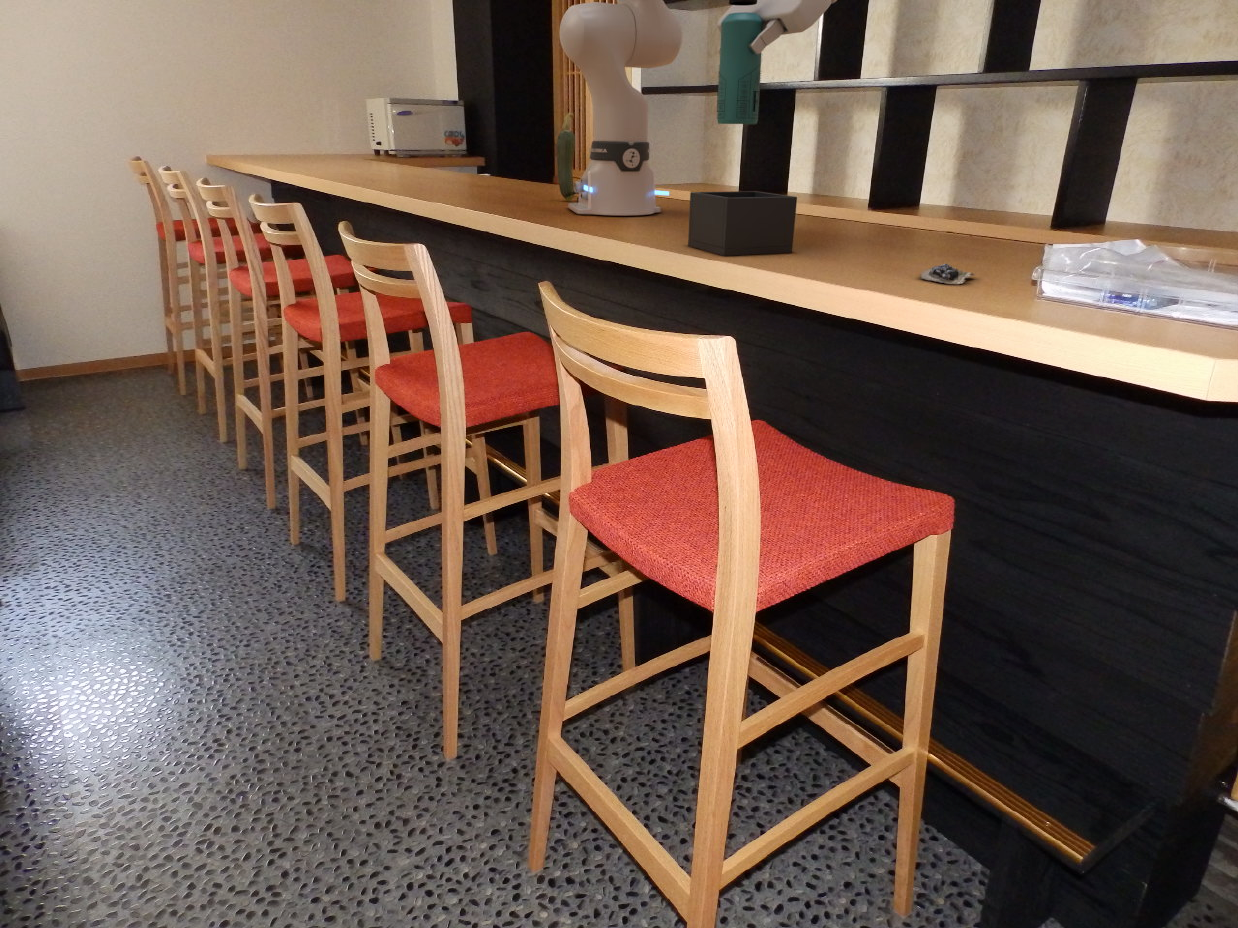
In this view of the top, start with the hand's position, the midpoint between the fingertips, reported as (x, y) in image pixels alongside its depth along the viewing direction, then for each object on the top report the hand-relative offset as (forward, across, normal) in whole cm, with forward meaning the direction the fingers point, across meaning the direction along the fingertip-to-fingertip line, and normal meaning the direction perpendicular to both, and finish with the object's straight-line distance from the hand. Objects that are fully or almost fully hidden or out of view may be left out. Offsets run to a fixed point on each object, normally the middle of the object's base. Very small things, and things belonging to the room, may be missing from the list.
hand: (737, 52), depth 126 cm
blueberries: (+16, +41, +24) cm, 50 cm away
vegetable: (+14, -79, +24) cm, 84 cm away
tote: (+22, +8, +18) cm, 29 cm away
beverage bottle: (+8, 0, +9) cm, 12 cm away
